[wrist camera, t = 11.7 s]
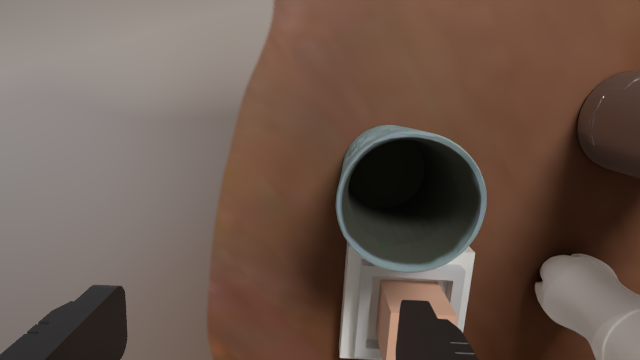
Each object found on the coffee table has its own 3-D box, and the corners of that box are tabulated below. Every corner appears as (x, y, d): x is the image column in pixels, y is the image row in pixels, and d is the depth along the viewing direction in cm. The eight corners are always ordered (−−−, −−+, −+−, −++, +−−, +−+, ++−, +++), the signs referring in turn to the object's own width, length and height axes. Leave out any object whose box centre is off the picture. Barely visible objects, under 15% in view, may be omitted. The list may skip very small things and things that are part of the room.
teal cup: (457, 183, 40) (514, 223, 28) (369, 240, 41) (389, 301, 30) (400, 95, 38) (436, 99, 27) (310, 157, 40) (306, 187, 28)
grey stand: (467, 245, 41) (481, 259, 38) (452, 351, 44) (463, 374, 41) (347, 238, 41) (350, 251, 38) (338, 345, 44) (340, 367, 41)
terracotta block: (437, 282, 40) (457, 315, 34) (430, 333, 41) (449, 374, 36) (380, 279, 40) (390, 312, 34) (375, 330, 41) (384, 371, 35)
